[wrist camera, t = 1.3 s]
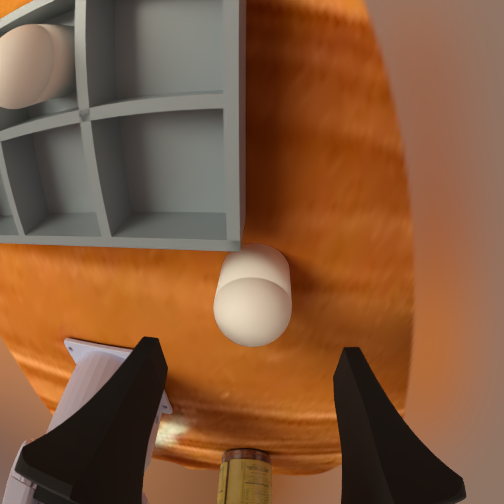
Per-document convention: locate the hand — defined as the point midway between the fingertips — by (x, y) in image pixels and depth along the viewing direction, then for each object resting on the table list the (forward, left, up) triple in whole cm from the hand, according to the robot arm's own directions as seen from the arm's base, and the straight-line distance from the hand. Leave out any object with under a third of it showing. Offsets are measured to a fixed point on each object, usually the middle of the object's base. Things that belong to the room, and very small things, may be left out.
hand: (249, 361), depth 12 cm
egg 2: (0, 0, -6) cm, 6 cm away
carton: (+9, +9, -6) cm, 14 cm away
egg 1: (+12, +9, -5) cm, 16 cm away
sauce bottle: (-29, +1, -6) cm, 29 cm away
